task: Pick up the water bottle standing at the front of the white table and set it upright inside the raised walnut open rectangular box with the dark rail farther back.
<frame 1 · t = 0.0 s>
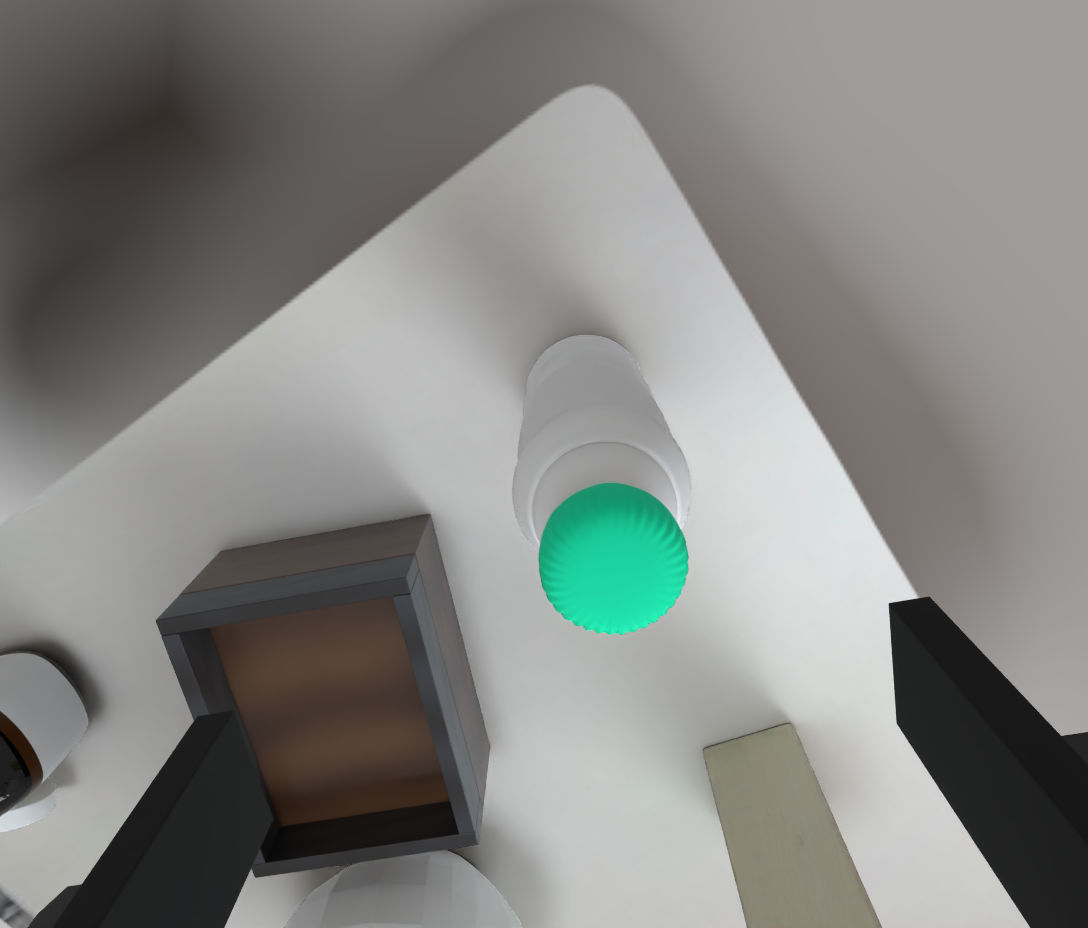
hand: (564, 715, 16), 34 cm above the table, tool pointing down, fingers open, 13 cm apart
toy refrigerator: (755, 776, 57), on the table
spread jar: (34, 719, 56), on the table
open rectangular box: (360, 653, 54), on the table
pitcher: (420, 892, 61), on the table
water bottle: (584, 390, 49), on the table
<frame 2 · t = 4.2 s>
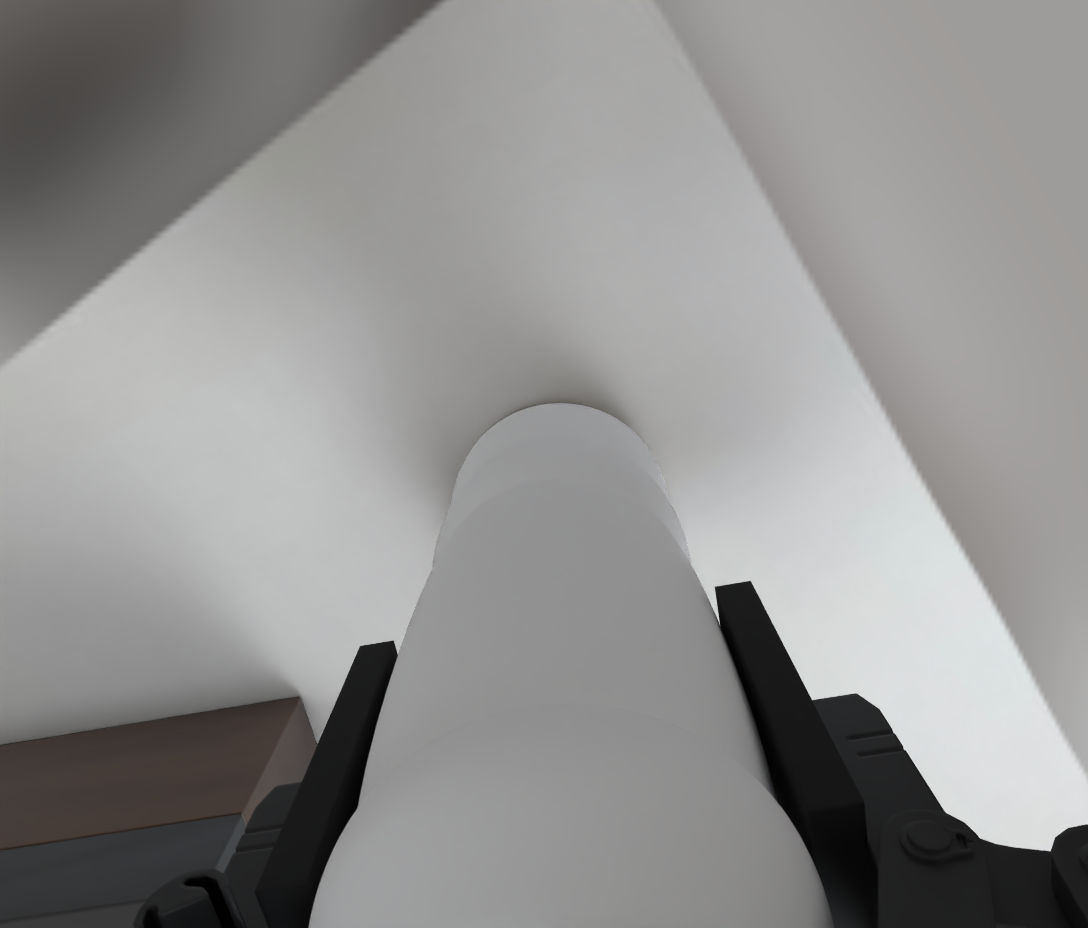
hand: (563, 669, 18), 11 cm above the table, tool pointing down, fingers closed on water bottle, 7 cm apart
open rectangular box: (200, 905, 33), on the table
water bottle: (559, 495, 28), on the table, touching gripper
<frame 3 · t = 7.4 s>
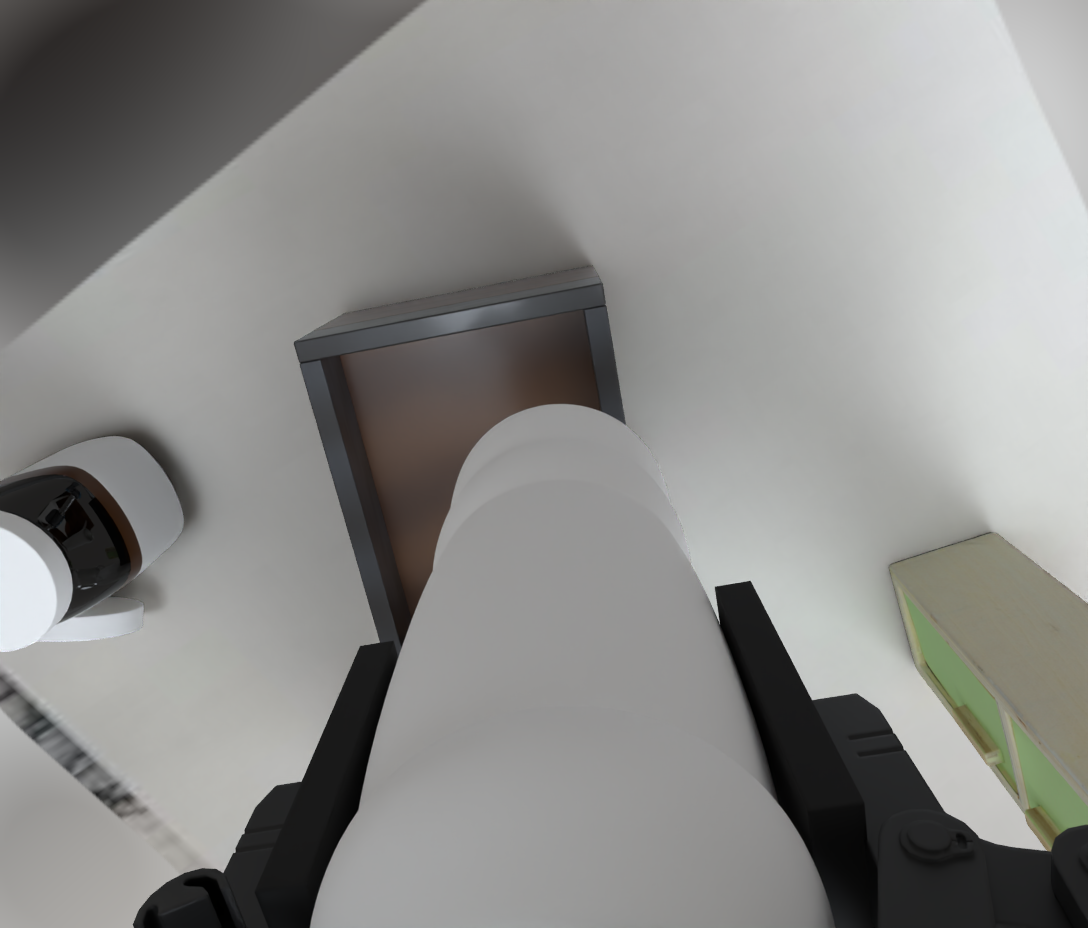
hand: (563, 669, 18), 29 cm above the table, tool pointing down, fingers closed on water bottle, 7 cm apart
toy refrigerator: (944, 600, 50), on the table
spread jar: (117, 527, 49), on the table
open rectangular box: (500, 444, 47), on the table
water bottle: (560, 496, 28), point 19 cm above the table, touching gripper
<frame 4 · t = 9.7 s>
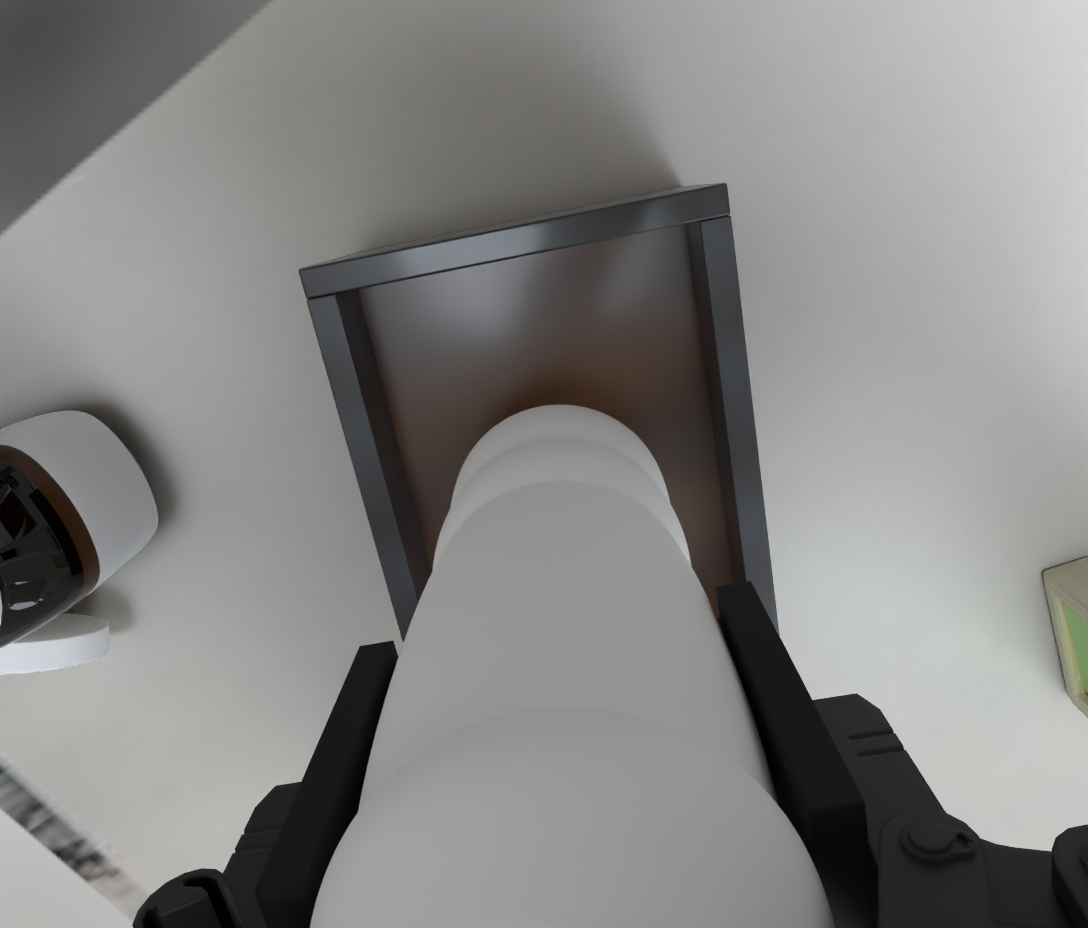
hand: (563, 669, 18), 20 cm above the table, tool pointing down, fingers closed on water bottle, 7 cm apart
spread jar: (77, 528, 39), on the table
open rectangular box: (558, 420, 37), on the table
water bottle: (559, 497, 28), point 10 cm above the table, touching gripper
when the fingers open (17 cm above the table, at t = 11.1 s): water bottle stays where it is, resting on open rectangular box.
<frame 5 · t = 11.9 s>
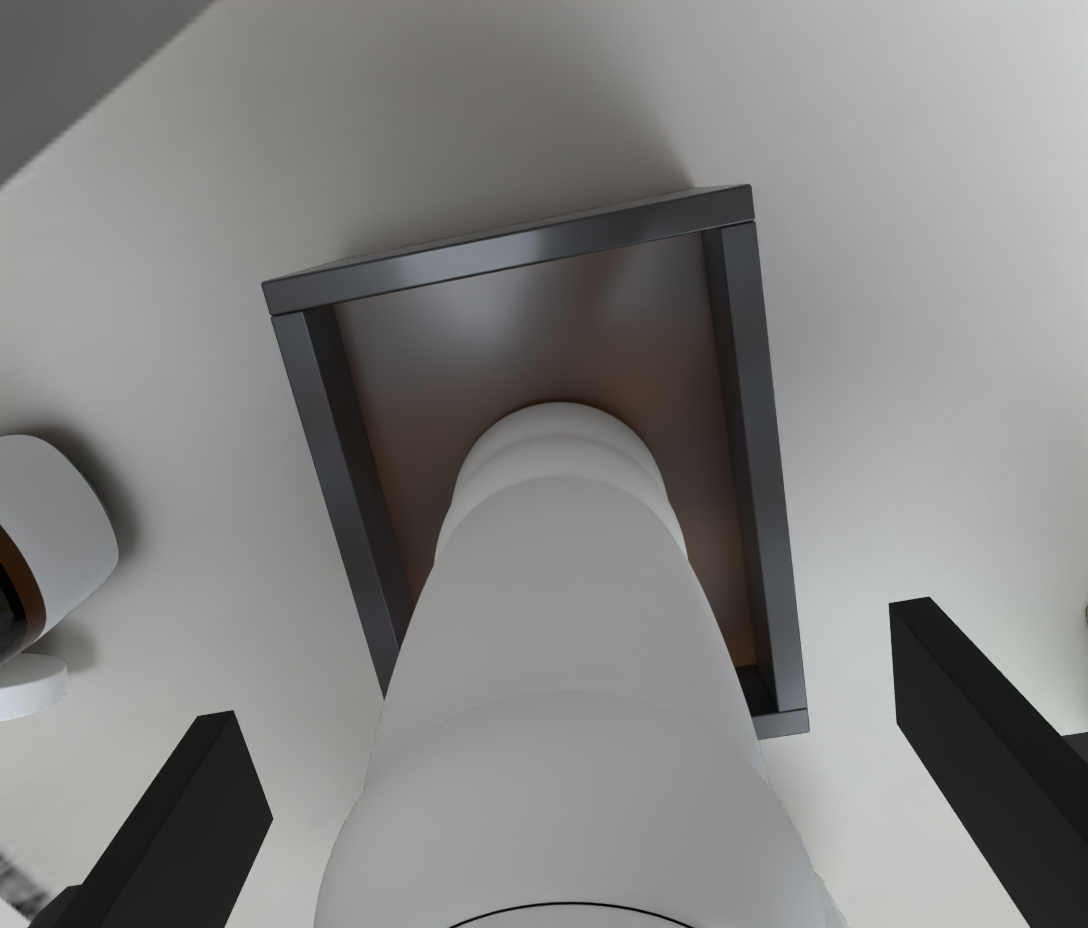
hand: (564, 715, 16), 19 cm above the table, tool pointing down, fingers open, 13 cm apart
spread jar: (32, 560, 36), on the table
open rectangular box: (558, 444, 34), on the table
pitcher: (615, 840, 40), on the table
water bottle: (559, 493, 28), point 6 cm above the table, touching open rectangular box
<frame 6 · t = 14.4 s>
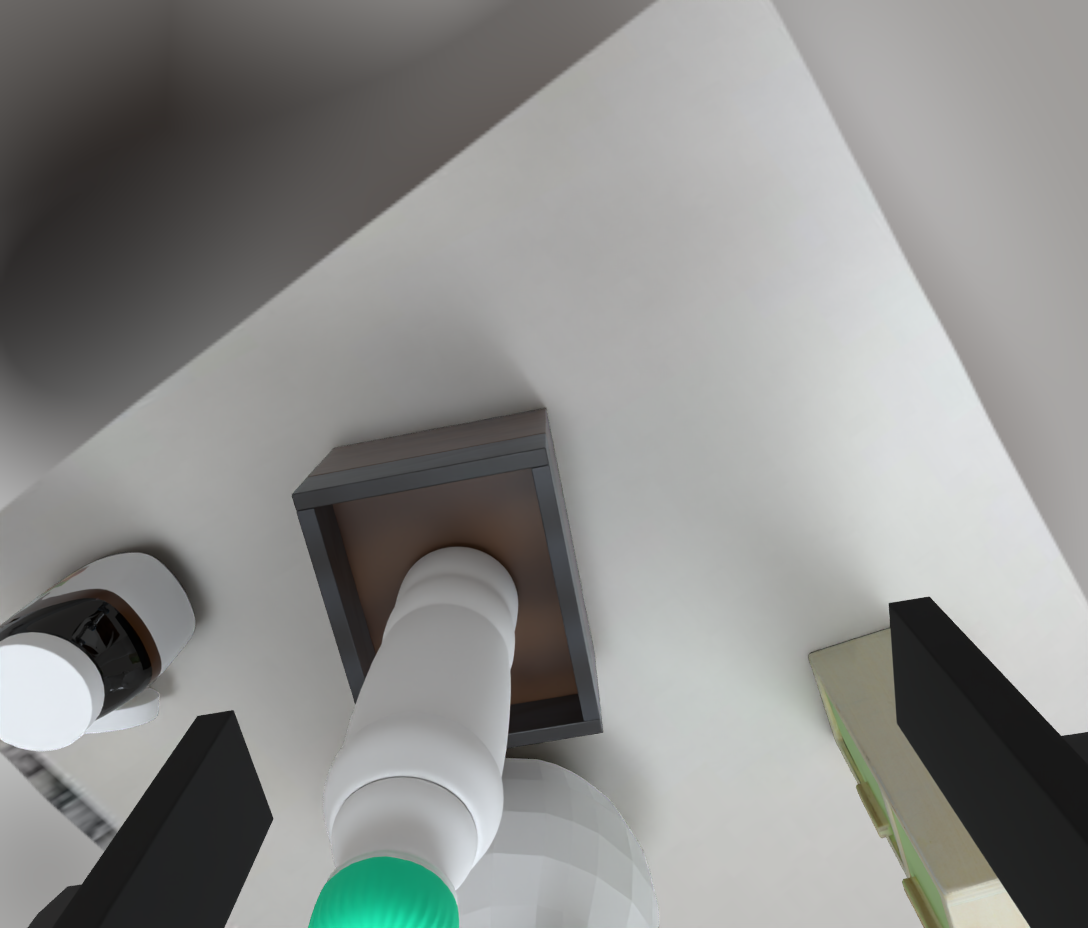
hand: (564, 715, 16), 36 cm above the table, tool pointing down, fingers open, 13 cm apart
toy refrigerator: (858, 683, 57), on the table
spread jar: (136, 626, 56), on the table
open rectangular box: (469, 554, 54), on the table
pitcher: (517, 808, 60), on the table
water bottle: (460, 594, 49), point 6 cm above the table, touching open rectangular box
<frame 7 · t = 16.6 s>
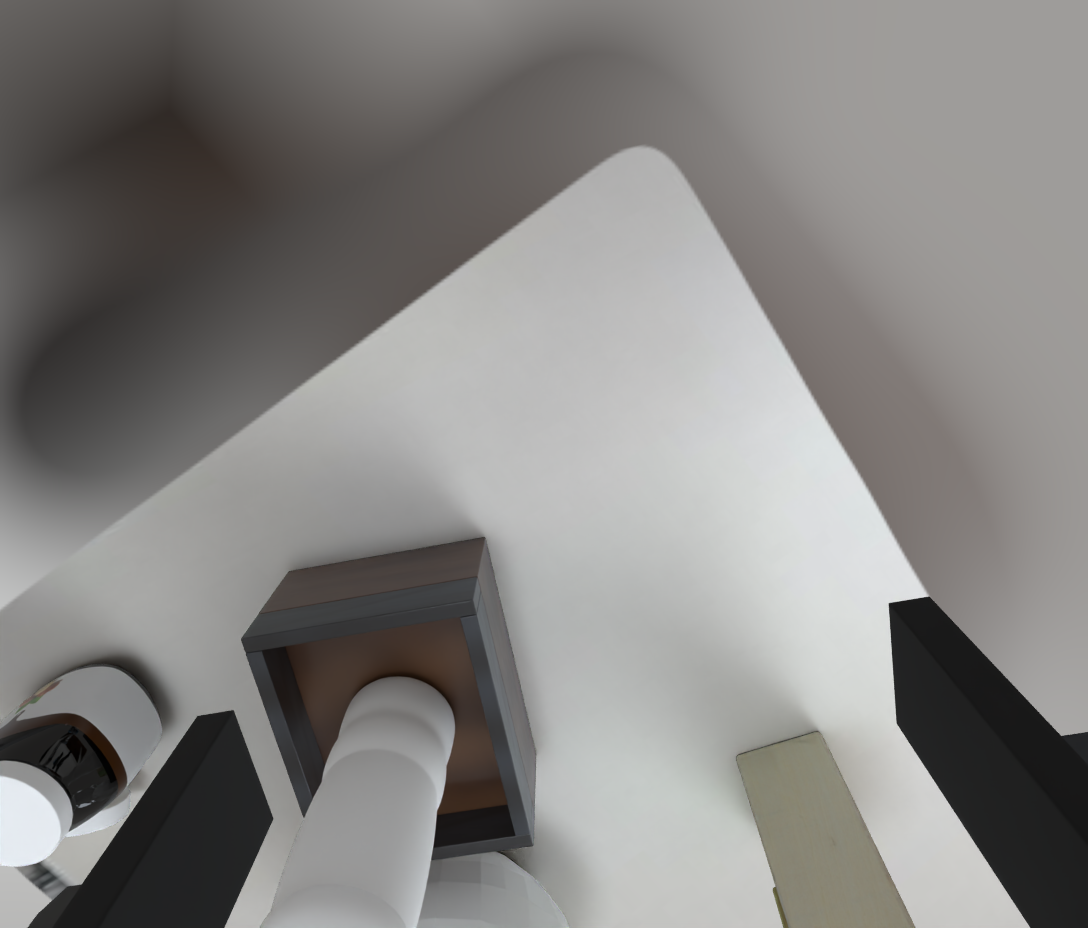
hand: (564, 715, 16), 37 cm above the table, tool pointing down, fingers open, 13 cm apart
toy refrigerator: (784, 781, 61), on the table
spread jar: (109, 727, 60), on the table
open rectangular box: (417, 666, 58), on the table
pitcher: (467, 890, 65), on the table
water bottle: (402, 716, 52), point 6 cm above the table, touching open rectangular box
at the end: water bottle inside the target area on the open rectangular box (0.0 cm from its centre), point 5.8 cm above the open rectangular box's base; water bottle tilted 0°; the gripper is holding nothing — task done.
